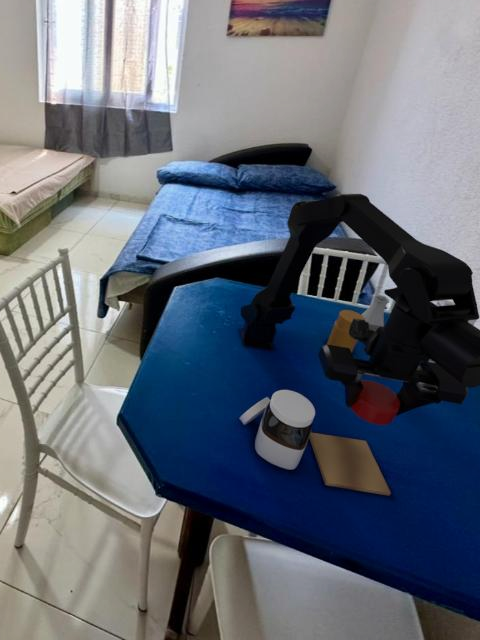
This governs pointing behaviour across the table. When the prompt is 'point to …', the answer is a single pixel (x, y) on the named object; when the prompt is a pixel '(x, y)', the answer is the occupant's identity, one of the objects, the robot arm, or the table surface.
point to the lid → (376, 403)
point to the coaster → (348, 464)
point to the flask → (376, 311)
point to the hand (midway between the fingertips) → (369, 409)
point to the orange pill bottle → (344, 330)
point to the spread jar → (282, 427)
